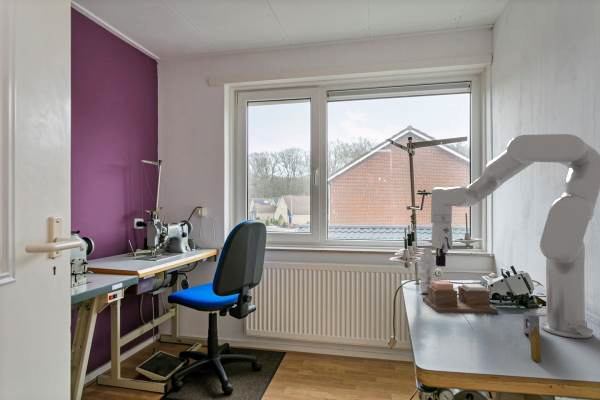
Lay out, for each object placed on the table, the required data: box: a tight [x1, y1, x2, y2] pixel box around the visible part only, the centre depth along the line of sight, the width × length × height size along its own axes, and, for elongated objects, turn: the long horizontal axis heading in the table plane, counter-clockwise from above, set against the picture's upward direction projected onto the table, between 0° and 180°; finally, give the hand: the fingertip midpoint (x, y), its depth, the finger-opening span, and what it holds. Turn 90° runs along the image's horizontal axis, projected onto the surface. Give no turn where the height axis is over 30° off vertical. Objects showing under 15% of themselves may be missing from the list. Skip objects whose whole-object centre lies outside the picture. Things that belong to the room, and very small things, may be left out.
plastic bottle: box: [419, 247, 436, 295], centre depth 154 cm, size 6×7×20 cm
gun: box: [523, 311, 542, 363], centre depth 96 cm, size 3×25×15 cm, turn 150°
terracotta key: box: [432, 280, 454, 290], centre depth 134 cm, size 6×6×5 cm
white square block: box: [461, 283, 486, 291], centre depth 133 cm, size 6×6×5 cm
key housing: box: [422, 285, 499, 314], centre depth 133 cm, size 16×22×7 cm
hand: (440, 265), depth 134 cm, fingers closed
